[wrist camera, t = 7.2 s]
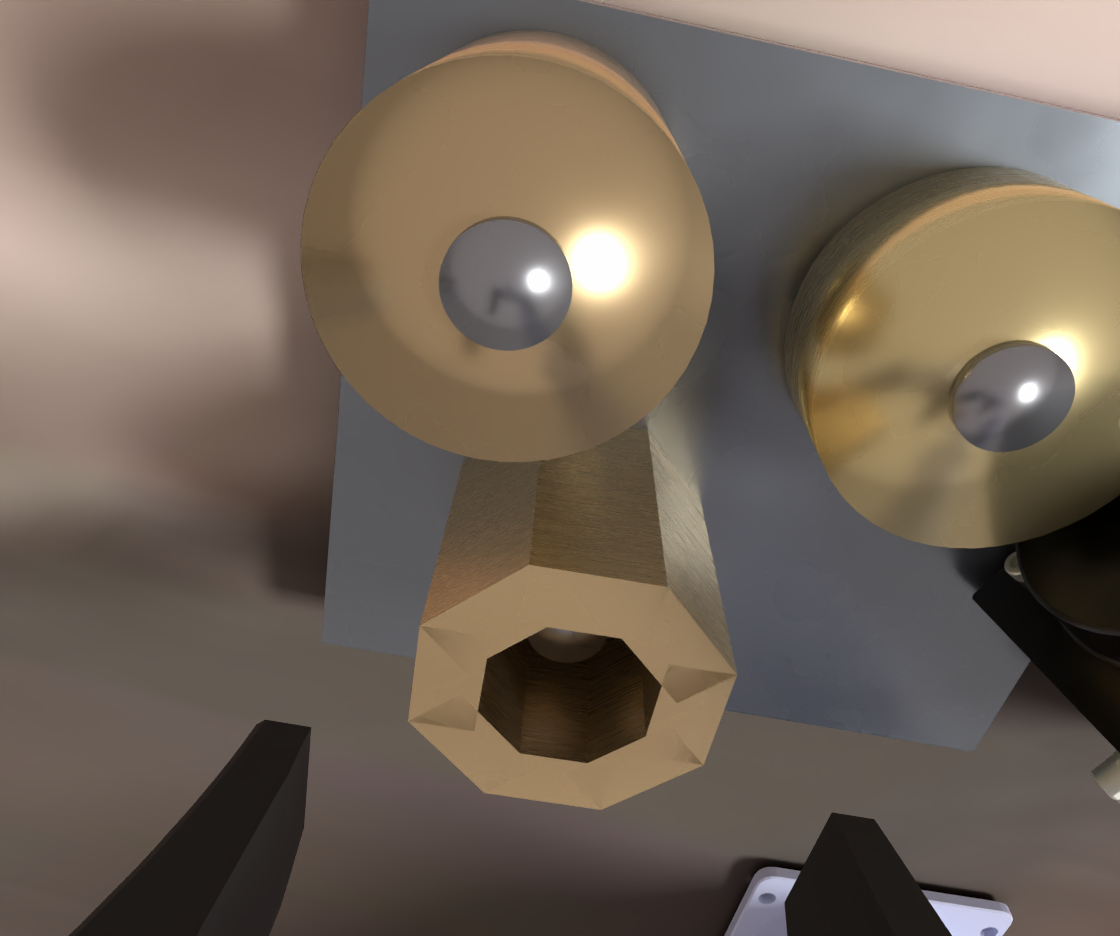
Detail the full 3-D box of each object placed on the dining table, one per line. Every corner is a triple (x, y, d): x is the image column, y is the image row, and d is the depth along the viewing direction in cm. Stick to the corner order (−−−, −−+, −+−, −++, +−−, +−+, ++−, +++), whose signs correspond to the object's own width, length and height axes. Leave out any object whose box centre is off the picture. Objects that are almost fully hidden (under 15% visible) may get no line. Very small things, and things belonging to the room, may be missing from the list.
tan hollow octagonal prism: (662, 633, 20) (682, 821, 15) (443, 599, 19) (400, 780, 15) (720, 443, 17) (764, 602, 13) (470, 400, 17) (429, 548, 12)
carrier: (950, 706, 22) (1077, 962, 17) (338, 601, 21) (242, 836, 15) (1274, 154, 15) (1685, 261, 10) (392, -44, 14) (256, -57, 9)
